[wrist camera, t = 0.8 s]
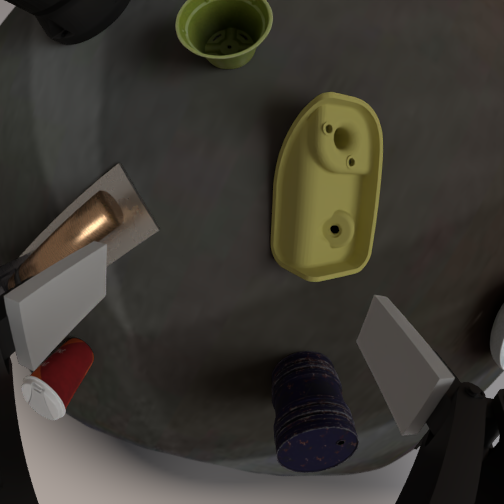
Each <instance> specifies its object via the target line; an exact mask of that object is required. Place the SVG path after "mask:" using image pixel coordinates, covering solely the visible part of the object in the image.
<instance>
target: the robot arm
mask: <svg viewBox="0 0 504 504" xmlns="http://www.w3.org/2000/svg"><path fill="white" fill-rule="evenodd" d="M5 1H7V2H9V3H11V4H13V5H15V6H17V7H19V8H21V9H23V10H25V11H27V12H29V13H31V14H33V15H35V17H36V18H37V20H38V21H39V23H40V25H41V26H42V28H43V29H44V31H45V33H46V34H47V35H48V36H49V37H50V38H52V39H53V40H55V41H57V42H59V43H62V44H76V43H80V42H83V41H85V40H88V39H90V38H92V37H94V36H95V35H97V34H99V33H100V32H102V31H103V30H104V29H106V28H107V27H108V26H109V25H110V24H112V23H113V22H114V21H115V20H116V19H117V18H118V17H119V16H120V14H121V13H122V12H123V11H124V9H125V8H126V6H127V5H128V3H129V1H130V0H5ZM106 259H107V244H105V243H100V242H96V241H93V242H92V243H90V244H88V245H86V246H84V247H83V248H81V249H79V250H77V251H76V252H74V253H72V254H70V255H69V256H67V257H65V258H64V259H62V260H60V261H58V262H57V263H55V264H53V265H52V266H50V267H48V268H47V269H45V270H44V271H42V272H40V273H39V274H37V275H35V276H31V277H28V278H27V279H25V280H23V281H22V282H20V284H17V285H15V286H14V288H13V287H12V288H11V289H9V290H8V291H6V292H5V293H3V294H2V295H0V504H39V503H38V501H37V497H36V494H35V492H34V488H33V485H32V482H31V478H30V475H29V471H28V467H27V464H26V459H25V455H24V451H23V446H22V441H21V436H20V431H19V425H18V419H17V412H16V405H15V397H14V386H13V375H12V363H11V359H10V355H11V354H12V353H14V352H16V355H17V359H18V362H19V364H20V365H22V366H24V367H26V368H28V369H30V370H32V371H35V370H36V368H37V367H38V366H39V365H40V364H41V363H42V362H43V361H44V360H45V358H46V357H47V356H48V355H49V354H50V353H51V352H52V351H53V350H54V349H55V347H56V346H57V345H58V344H59V343H60V342H61V341H62V340H63V339H64V338H65V337H66V336H67V335H68V334H69V333H70V331H71V330H72V329H73V328H74V327H75V326H76V325H77V324H78V323H79V322H80V321H81V320H82V319H83V318H84V317H85V316H86V315H87V314H88V313H89V312H90V311H91V310H92V309H93V308H94V307H95V306H96V305H97V304H98V303H99V302H100V301H101V300H102V299H103V298H104V297H105V296H106ZM356 342H357V344H358V346H359V348H360V350H361V352H362V354H363V356H364V358H365V360H366V362H367V364H368V366H369V368H370V370H371V372H372V374H373V376H374V378H375V380H376V382H377V384H378V386H379V388H380V390H381V392H382V394H383V396H384V398H385V400H386V403H387V405H388V407H389V409H390V411H391V413H392V415H393V417H394V419H395V422H396V424H397V426H398V428H399V430H400V432H401V435H411V434H418V432H419V431H420V430H421V429H422V427H423V426H424V424H425V423H427V425H428V427H429V430H428V431H427V433H426V434H425V435H424V437H423V438H422V439H421V440H420V442H419V443H418V444H417V445H416V447H415V448H414V449H417V448H418V447H419V446H420V449H419V452H418V454H417V457H416V459H415V462H414V464H413V467H412V469H411V471H410V474H409V476H408V478H407V480H406V483H405V485H404V487H403V489H402V491H401V493H400V495H399V497H398V499H397V501H396V503H395V504H504V389H500V390H499V391H498V393H497V394H496V396H495V397H494V399H491V398H486V397H485V394H484V392H483V391H482V390H481V389H480V388H479V387H478V386H476V385H474V384H472V383H469V382H463V383H461V382H460V381H459V380H458V378H457V377H456V376H455V374H454V373H453V372H452V371H451V369H450V368H449V367H448V366H447V364H446V363H445V362H444V361H442V358H441V357H440V356H439V355H438V353H437V352H435V351H434V350H433V349H432V348H431V347H430V346H429V345H428V344H427V343H426V341H425V340H424V339H423V338H422V337H421V335H420V334H419V333H418V332H417V331H416V330H415V328H414V327H413V326H412V325H411V324H410V323H409V321H408V320H407V319H406V318H405V317H404V316H403V314H402V313H401V312H400V311H399V310H398V309H397V308H396V307H395V305H394V304H393V303H392V302H391V301H390V300H389V299H388V298H387V297H384V296H378V295H374V297H373V299H372V302H371V305H370V308H369V310H368V313H367V316H366V318H365V321H364V324H363V326H362V329H361V331H360V334H359V336H358V339H357V341H356ZM499 434H500V439H499V442H498V443H497V445H496V446H495V447H494V448H493V446H492V443H493V441H494V440H495V439H496V438H497V437H498V435H499Z"/></svg>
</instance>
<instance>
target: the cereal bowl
mask: <svg viewBox="0 0 504 504" xmlns="http://www.w3.org/2000/svg"><path fill="white" fill-rule="evenodd" d="M490 350H491V354H492V356H493V359H494V361H495V362H496V363H497V365H498V366H499V367H500V368H501V369H503V370H504V303H503V305H502V306H501V308H500V310H499V311H498V314H497V316H496V318H495V320H494V323H493V327H492V331H491V336H490Z"/></svg>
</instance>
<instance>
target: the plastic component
mask: <svg viewBox="0 0 504 504" xmlns="http://www.w3.org/2000/svg"><path fill="white" fill-rule="evenodd" d="M349 160H351V163H350V165H349ZM382 160H383V136H382V129H381V125H380V122H379V119H378V117H377V115H376V114H375V112H374V110H373V109H372V108H371V107H370V106H369V105H368V104H367V103H366V102H364V101H363V100H360V99H358V98H355V97H352V96H347V95H343V94H339V93H334V92H327V93H322V94H320V95H318V96H317V97H316V98H314V99H313V100H312V101H311V102H310V103H309V104H308V105H307V106H306V107H305V108H304V109H303V110H302V111H301V112H300V114H299V115H298V116H297V118H296V119H295V121H294V122H293V124H292V126H291V127H290V129H289V131H288V133H287V135H286V137H285V139H284V142H283V144H282V147H281V150H280V152H279V156H278V160H277V164H276V169H275V175H274V183H273V204H272V224H271V243H270V244H271V250H272V254H273V256H274V258H275V260H276V262H277V263H278V264H279V265H280V266H281V267H282V268H284V269H286V270H288V271H290V272H292V273H293V274H295V275H297V276H299V277H301V278H303V279H305V280H307V281H311V282H319V281H324V280H328V279H333V278H337V277H342V276H346V275H350V274H355V273H357V272H359V271H360V270H362V269H363V268H364V267H365V265H366V264H367V262H368V261H369V258H370V256H371V252H372V246H373V239H374V233H375V226H376V218H377V211H378V203H379V194H380V184H381V174H382ZM333 225H336V226H338V227H339V232H338V233H332V232H331V230H330V227H331V226H333Z"/></svg>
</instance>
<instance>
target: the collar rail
mask: <svg viewBox="0 0 504 504" xmlns="http://www.w3.org/2000/svg"><path fill="white" fill-rule="evenodd" d="M100 190H103V191H106V192H108V193H109V194H110V195H111V196H112V197H113V198H114V199H115V200H116V201H117V203H118V204H119V206H120V208H121V210H122V213H123V218H124V220H123V223H122V224H121V225H120V226H119V227H117V228H116V229H115V230H113V231H112V232H111V233H109V234H108V235H107V236H106V237H104V238H103V239H102V240H100V241H99V242H100V243H105V244H107V259H106V267H107V266H108V265H110V264H111V263H113V262H114V261H115V260H117V259H118V258H120V257H121V256H122V255H124V254H125V253H127V252H128V251H130V250H131V249H132V248H134V247H135V246H137V245H138V244H140V243H141V242H143V241H144V240H146V239H147V238H148V237H150V236H151V235H153V234H154V233H156V232H157V231H159V230H160V229H161V228H160V227H159V225H158V223H157V222H156V220H155V219H154V217H153V215H152V214H151V212H150V211H149V209H148V207H147V206H146V204H145V202H144V201H143V199H142V198H141V196H140V194H139V193H138V191H137V189H136V188H135V186H134V184H133V182H132V181H131V179H130V177H129V176H128V174H127V172H126V170H125V169H124V167H123V165H122V164H121V163H118V164H117V165H116V166H115V167H113V168H112V169H111V170H110V171H108V172H107V173H106V174H105V175H104V176H102V177H101V178H100V179H99V180H98V181H96V182H95V183H94V184H93V185H92V186H91V187H89V188H88V189H87V190H86V191H85V192H84V193H83V194H82V195H80V196H79V197H78V198H77V199H76V200H75V201H74V202H73V203H72V204H71V205H69V206H68V207H67V208H66V209H65V210H64V211H63V212H62V213H61V214H60V215H59V216H58V217H57V218H56V219H55V220H54V221H53V222H52V223H51V224H50V225H49V226H48V227H47V228H46V229H45V230H44V231H43V232H42V233H41V234H40V235H39V236H38V237H37V238H36V239H35V240H34V241H33V242H32V243H31V245H30V246H29V247H28V248H27V249H26V250H25V251H24V252H23V253H22V254H21V256H20V257H19V258H17V259H15V260H13V261H11V262H9V263H7V264H5V265H3V266H1V267H0V295H2V294H3V293H5V292H6V291H8V290H9V289H8V281H9V278H10V277H11V276H12V275H13V274H14V273H15V271H16V269H17V268H18V267H19V266H20V265H21V264H22V263H24V261H25V260H26V259H27V258H28V257H29V256H30V255H31V254H32V253H33V252H34V251H35V250H36V249H37V248H38V247H39V246H40V245H41V244H42V243H43V242H44V241H45V240H46V239H47V238H48V237H49V236H50V235H51V234H52V233H53V232H54V231H55V230H56V229H57V228H58V227H59V226H60V225H61V224H62V223H63V222H64V221H65V220H66V219H67V218H69V217H70V216H71V215H72V214H73V213H74V212H75V211H76V210H77V209H78V208H80V207H81V206H82V205H83V204H84V203H85V202H86V201H88V200H89V199H90V198H91V197H92V196H93V195H94V194H96V193H97V192H98V191H100Z"/></svg>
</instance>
